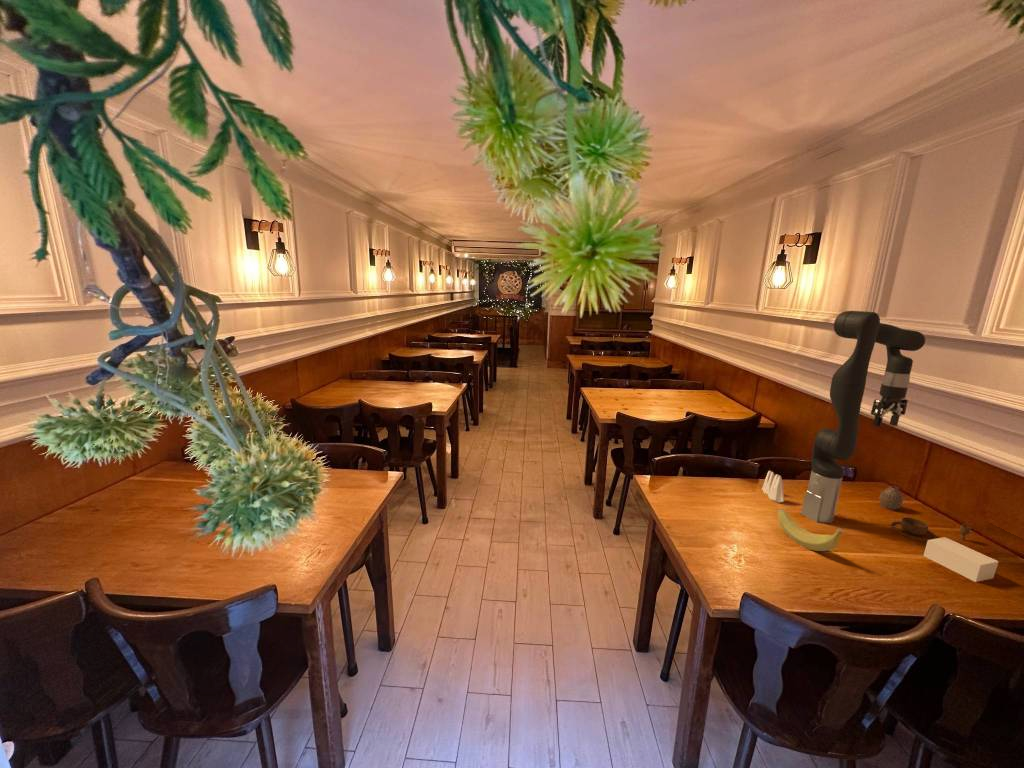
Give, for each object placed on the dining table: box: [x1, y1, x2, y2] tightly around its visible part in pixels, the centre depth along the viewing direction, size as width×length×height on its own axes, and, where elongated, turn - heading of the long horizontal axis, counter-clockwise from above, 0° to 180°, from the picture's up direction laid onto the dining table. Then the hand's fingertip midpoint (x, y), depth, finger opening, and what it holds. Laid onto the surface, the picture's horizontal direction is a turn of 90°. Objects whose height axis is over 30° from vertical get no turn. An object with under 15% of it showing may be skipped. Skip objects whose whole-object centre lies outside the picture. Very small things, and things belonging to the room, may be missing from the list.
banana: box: [777, 507, 845, 552], centre depth 140 cm, size 14×6×20 cm
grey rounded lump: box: [878, 485, 904, 511], centre depth 170 cm, size 7×7×9 cm
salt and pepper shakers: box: [761, 470, 785, 504], centre depth 174 cm, size 12×4×11 cm, turn 170°
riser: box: [923, 536, 999, 583], centre depth 133 cm, size 8×13×6 cm, turn 16°
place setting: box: [890, 516, 972, 542], centre depth 150 cm, size 18×20×6 cm
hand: (885, 425), depth 165 cm, fingers open, 8 cm apart
